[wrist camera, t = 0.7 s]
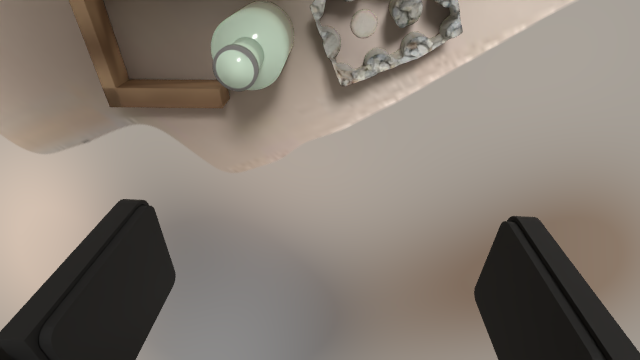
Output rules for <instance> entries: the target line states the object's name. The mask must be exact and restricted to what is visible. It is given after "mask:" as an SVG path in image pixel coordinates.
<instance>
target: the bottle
mask: <svg viewBox="0 0 640 360" xmlns="http://www.w3.org/2000/svg"><path fill="white" fill-rule="evenodd" d="M293 43H294V30H293V26H292V23H291V21H290V19H289V17H288V16H287V14H286V13H285V12H284V11H283V10H282V9H281V8H280V7H278V6H277V5H275V4H273V3H270V2H266V1H256V2H252V3H250V4H248V5H246V6H245V7H243V8H242V9H240V10H239V11H237V12H236V13H234V14H233V15H231V16H230V17H228V18H227V19H225V20H224V21H223V22H221V23H220V24H219V26H218V27H217V28H216V30H215V32H214V34H213V37H212V41H211V54H212V58H213V72H214V75H215V77H216V79H217V80H218V81H219V83H220V84H221V85H223V86H224V87H225V88H227V89H229V90H232V91H245V90H259V89H263V88H265V87H267V86H269V85H271V84H272V83H273V82H274V81H275V80H276V79H277V78H278V76H279V75H280V73H281V71H282V69H283V66H284V64H285V62H286V60H287V58H288V56H289V53H290V51H291V49H292V47H293Z"/></svg>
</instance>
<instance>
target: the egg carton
mask: <svg viewBox="0 0 640 360" xmlns="http://www.w3.org/2000/svg"><path fill="white" fill-rule="evenodd" d="M325 1H326V0H315V1H314V2H313V3H312V4H311V5H310V8H311V12H312V14H313V17H314V19H315V21H316V25H317V28H318V31H319V33H320V36H321V37H322V40H323V42H322V43H323V46H324V49H325V52H326V55H327V57H328V58H329V59H330V60H331V62H332V64H333V67H334V70H335V73H336V76H337V78H338V80H339V83H340V85H341V86H347V85H349V84H354V83H357V82H359V81H361V80H365V79H368V78H370V77H372V76H375V75H376V74H377V73H379V72H382V71H385V70H388V69H392V68H395V67H396V66H398V65H400V64H403V63H406V62H409V61H411V60H415V59H418V58H420V57H422V56H423V55H425V54H427V53H428V52H430V51H432V50H433V49H435V48H436V47H438V46H440V45H442V44H443V43H444V42H446V41H447V40H449V39H451V38H455V37H457V36H459V35H460V34H461V33H462V32H463V30H462V25H461V21H460V13H459V12H460V9H459V4H458V0H434V1H435V2H437V3H439V4H441V5H443V6H444V7H449V8H450V15H449V16H448V17H447V18H446V19H445V20H444V21H443V22H442V23H441V26H440V29H439V34H438V35H436V36H435V37H432V38H429V39H428V38H427V37H426V36H425V35H424V34H422V33H421V32H418V31H416V32H411V33H409V34H407V35H406V36H405V37H404V38H403V40H402V43H401V49H399V50H397V51H396V52H394V53H393V54H391V55H389V54H388V52H387V51H386V50H384V49H382V48H374V49H372V50H370V51H369V52H368V53H367V54H366V56H365V59H364V65H363V66H362V67H359V68H357V69H353V68H352V67H351V66H350V65H348V64H346V63H336V60H335V58H334V57H336V56H337V54H338V52H339V51H340V47H341V38H340V35H339V33H338V32H337V30H336V29H335V28H333V27H330V26H324V27H322V26H321V24H320V20H319V19H320V17H322V16H323V12H324V8H325ZM345 1H354V0H345ZM422 6H423V4H422V0H391V2H390V4H389V12H390V14H391V16H392V18H393V19H394V21H395V23H396V24H397V25H398V26H399V27H400V28H404V27H406V26H407V25H411V24H414V23H415V22H417V21H418V19H419V17H420V15H421V13H422ZM377 24H378V21H377V17H376V15H375V14H374V13H373V12H372V11H370V10H360V11H358V12H356V13H355V14H354V16H353V18H352V20H351V30H352V32H353V33H354V34H355V35H356V36H357V37H360V38H367V37H369V36H371V35H372V34H373V33H374V32H375V30H376V28H377Z"/></svg>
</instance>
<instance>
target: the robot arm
mask: <svg viewBox="0 0 640 360" xmlns="http://www.w3.org/2000/svg"><path fill="white" fill-rule="evenodd" d="M174 282H175V270H174V267H173V264H172V261H171V258H170V255H169V252H168V249H167V246H166V243H165V240H164V237H163V234H162V231H161V228H160V225H159V222H158V218H157V216H156V212H155V210H154V208H153V207H152V206H149V205H148V203H147V202H146V201H145V200H130V199H123V200H120V201H119V202H118V203H117V204H116V205H115V206H114V207H113V208H112V209H111V211H110V212H109V213H108V214H107V215H106V216H105V217H104V218H103V219H102V220H101V221H100V222H99V224H98V225H97V226H96V227H95V228H94V229H93V230H92V231H91V232H90V234H89V235H88V236H87V237H86V238H85V239H84V240H83V241H82V242H81V244H79V246H78V247H77V248H76V249H75V250H74V251H73V252H72V253H71V254H70V255H69V257H68V258H67V259H66V260H65V261H64V262H63V263H62V264H61V265H60V266H59V268H58V269H57V270H56V271H55V272H54V273H53V274H52V275H51V276H50V278H49V279H48V280H47V281H46V282H45V283H44V284H43V285H42V286H41V287H40V289H39V290H38V291H37V292H36V293H35V294H34V295H33V296H32V297H31V298H30V300H29V301H28V302H27V303H26V304H25V305H24V306H23V307H22V308H21V309H20V311H19V312H18V313H17V314H16V315H15V316H14V317H13V318H12V319H11V320H10V322H9V323H8V324H7V325H6V326H5V327H4V328H3V329H2V330H1V332H0V360H136V358H137V356H138V354H139V352H140V350H141V348H142V346H143V344H144V342H145V340H146V338H147V336H148V334H149V332H150V330H151V328H152V326H153V324H154V322H155V320H156V318H157V316H158V315H159V312H160V310H161V309H162V307H163V305H164V303H165V301H166V299H167V297H168V295H169V293H170V291H171V289H172V287H173V285H174ZM474 295H475V301H476V303H477V306H478V308H479V311H480V314H481V316H482V319H483V321H484V324H485V326H486V329H487V332H488V334H489V337H490V339H491V342H492V344H493V347H494V349H495V352H496V355H497V357H498V360H640V353H639V351H638V350H637V349H636V347H635V346H634V345H633V344H632V342H631V341H630V339H629V338H628V337H627V336H626V334H625V333H624V332H623V330H622V329H621V328H620V326H619V325H618V324H617V322H616V321H615V320H614V318H613V317H612V316H611V314H610V313H609V312H608V310H607V309H606V308H605V306H604V305H603V304H602V302H601V301H600V300H599V298H598V297H597V296H596V294H595V293H594V292H593V290H592V289H591V288H590V286H589V285H588V284H587V282H586V281H585V280H584V278H583V277H582V276H581V274H580V273H579V272H578V270H577V269H576V268H575V266H574V265H573V264H572V262H571V261H570V260H569V258H568V257H567V256H566V255H565V253H564V252H563V251H562V249H561V248H560V246H559V245H558V244H557V242H556V241H555V240H554V239H553V237H552V236H551V234H550V233H549V232H548V231H547V229H546V228H545V227H544V225H543V224H542V223H541V221H540V220H539V219H538V218H535V217H521V216H512V217H510V218H509V219H508V220H507V222H506V221H505V222H502V224H501V225H500V228H499V230H498V232H497V235H496V238H495V240H494V242H493V245H492V247H491V250H490V252H489V255H488V257H487V259H486V262H485V265H484V267H483V269H482V272H481V274H480V277H479V279H478V282H477V284H476V286H475V291H474Z"/></svg>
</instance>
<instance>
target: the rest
mask: <svg viewBox="0 0 640 360" xmlns="http://www.w3.org/2000/svg"><path fill="white" fill-rule="evenodd" d="M69 2H70V5H71V7H72V10H73V12H74V15H75V18H76V20H77V23H78V25H79V28H80V31H81V33H82V36H83V38H84V41H85V44H86V46H87V49H88V51H89V54H90V57H91V59H92V62H93V64H94V67H95V70H96V72H97V75H98V77H99V80H100V83H101V85H102V88H103V90H104V93H105V96H106V98H107V101H108V103H109V106H110V107H160V108H223V107H224V106H225V104H226V103H227V101H228V100H229V99H230V97H229V91H228V89H227V88H225V87H224V86H223V85H221V84H220V83H219V81H218V80H140V79H129V77H128V74H127V71H126V68H125V65H124V62H123V59H122V56H121V53H120V50H119V47H118V44H117V41H116V38H115V35H114V32H113V29H112V26H111V23H110V20H109V17H108V14H107V11H106V8H105V5H104V2H103V0H69Z"/></svg>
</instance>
